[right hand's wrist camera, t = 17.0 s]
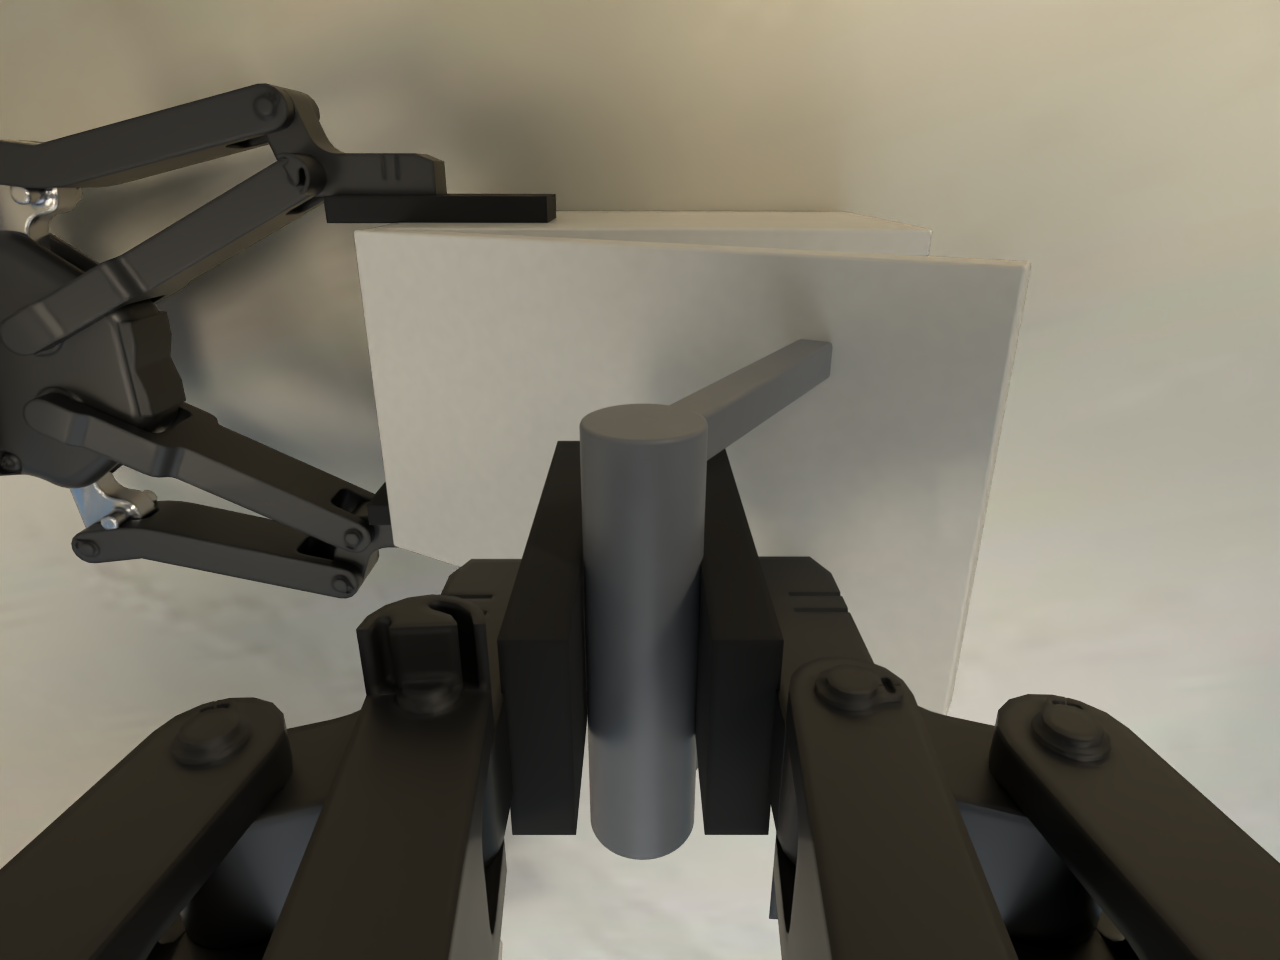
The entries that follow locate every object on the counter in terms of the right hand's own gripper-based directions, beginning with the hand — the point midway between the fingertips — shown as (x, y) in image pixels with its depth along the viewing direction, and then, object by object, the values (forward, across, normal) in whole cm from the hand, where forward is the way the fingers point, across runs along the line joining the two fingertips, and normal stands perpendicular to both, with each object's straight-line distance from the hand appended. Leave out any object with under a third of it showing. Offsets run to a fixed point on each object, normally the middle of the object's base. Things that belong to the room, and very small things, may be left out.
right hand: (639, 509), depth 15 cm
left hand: (+12, -3, 0) cm, 12 cm away
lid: (+4, 0, 0) cm, 4 cm away
